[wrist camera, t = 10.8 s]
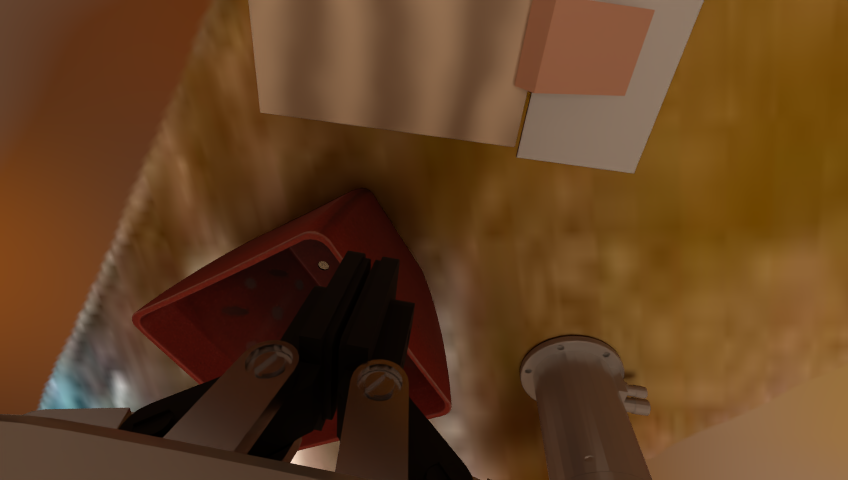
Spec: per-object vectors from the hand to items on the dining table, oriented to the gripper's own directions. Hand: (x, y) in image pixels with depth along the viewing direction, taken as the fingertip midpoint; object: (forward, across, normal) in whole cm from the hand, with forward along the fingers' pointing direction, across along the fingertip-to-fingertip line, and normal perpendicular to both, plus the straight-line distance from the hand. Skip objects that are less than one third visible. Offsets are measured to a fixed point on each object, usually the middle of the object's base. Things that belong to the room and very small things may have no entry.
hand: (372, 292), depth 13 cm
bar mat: (+27, -13, -6) cm, 31 cm away
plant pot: (+28, +8, +17) cm, 34 cm away
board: (+27, +4, -6) cm, 28 cm away
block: (+25, -9, -7) cm, 27 cm away
